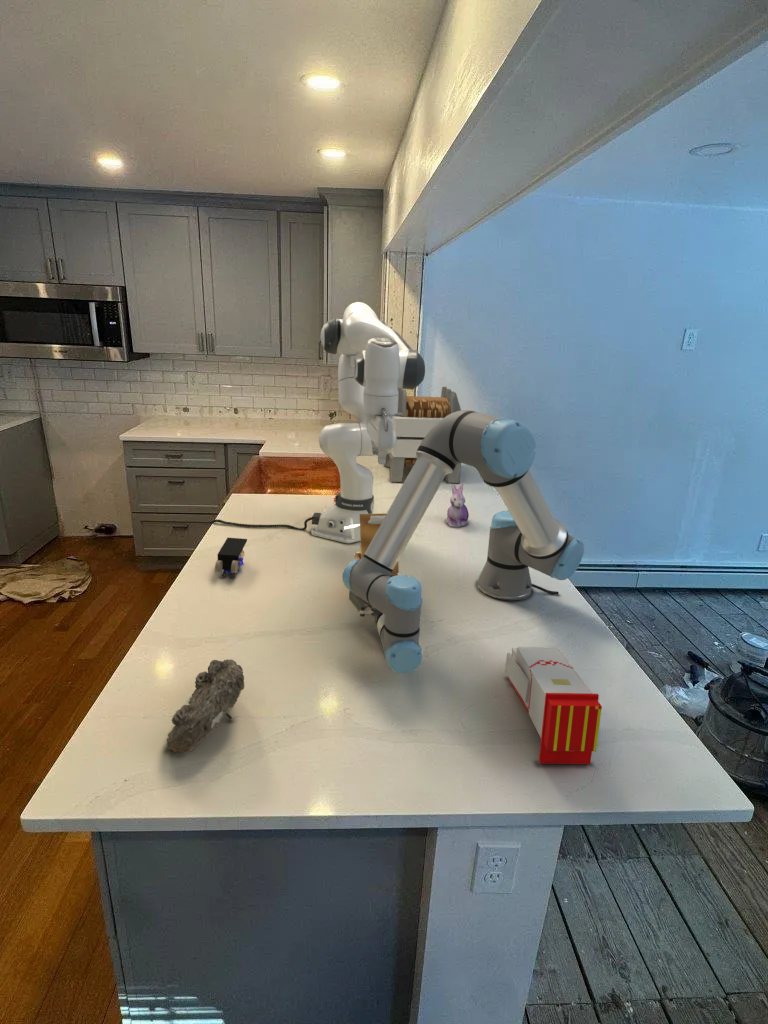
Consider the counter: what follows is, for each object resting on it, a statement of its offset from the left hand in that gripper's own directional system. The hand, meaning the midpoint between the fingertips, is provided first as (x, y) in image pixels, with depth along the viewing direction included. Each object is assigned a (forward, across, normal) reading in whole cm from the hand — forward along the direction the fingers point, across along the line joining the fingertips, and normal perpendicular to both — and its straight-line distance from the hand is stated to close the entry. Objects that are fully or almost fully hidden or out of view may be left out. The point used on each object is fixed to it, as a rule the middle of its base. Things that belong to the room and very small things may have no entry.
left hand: (378, 459), depth 147 cm
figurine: (+38, +49, -39) cm, 73 cm away
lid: (+21, -6, 0) cm, 22 cm away
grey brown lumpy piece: (+38, -49, +38) cm, 73 cm away
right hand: (+31, -7, 0) cm, 32 cm away
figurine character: (+38, +16, +40) cm, 57 cm away
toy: (+38, -55, -26) cm, 72 cm away
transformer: (+38, +117, -40) cm, 129 cm away
